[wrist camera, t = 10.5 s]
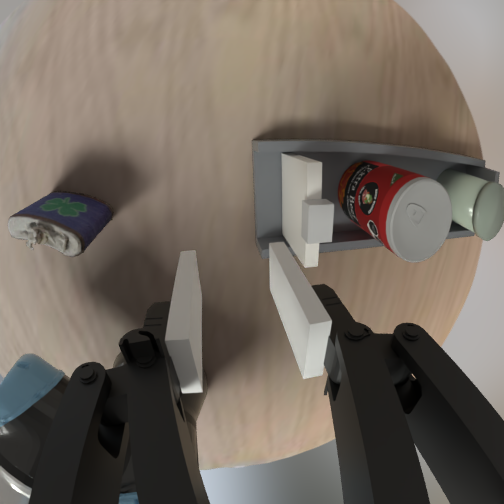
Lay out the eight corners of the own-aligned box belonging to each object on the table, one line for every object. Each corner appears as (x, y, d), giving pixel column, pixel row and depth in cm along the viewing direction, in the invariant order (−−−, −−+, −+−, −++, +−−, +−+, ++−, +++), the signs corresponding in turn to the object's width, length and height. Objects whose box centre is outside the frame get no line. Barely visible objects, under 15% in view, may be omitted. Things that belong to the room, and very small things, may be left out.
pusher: (278, 234, 31) (305, 277, 22) (277, 153, 27) (309, 165, 18) (296, 232, 31) (328, 274, 22) (296, 153, 27) (335, 165, 19)
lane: (255, 243, 32) (267, 272, 26) (251, 140, 27) (264, 143, 21) (457, 226, 36) (487, 243, 30) (466, 155, 31) (500, 165, 25)
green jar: (428, 217, 33) (472, 242, 25) (434, 165, 30) (483, 181, 22) (459, 216, 34) (500, 238, 26) (465, 169, 31) (510, 185, 23)
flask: (47, 209, 27) (-4, 244, 17) (49, 185, 26) (-5, 213, 16) (112, 226, 29) (75, 270, 19) (116, 201, 28) (76, 237, 18)
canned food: (346, 150, 28) (407, 165, 18) (399, 171, 30) (462, 195, 20) (326, 214, 31) (376, 255, 21) (379, 228, 33) (434, 269, 23)
